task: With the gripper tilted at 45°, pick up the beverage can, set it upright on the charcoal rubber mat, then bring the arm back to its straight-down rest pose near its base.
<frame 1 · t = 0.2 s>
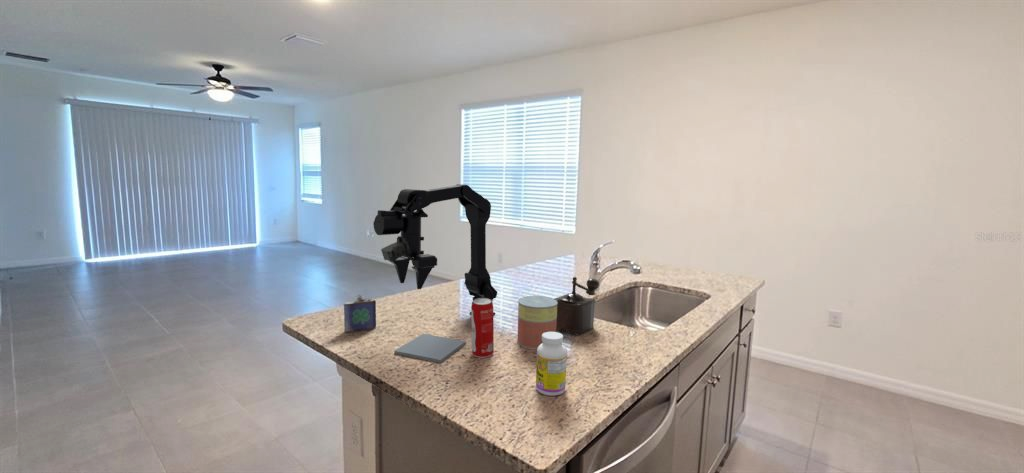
hand: (410, 286, 131), 15 cm above the worktop, tool pointing down, fingers open, 9 cm apart
rubber mat: (431, 348, 122), on the worktop
supplement bottle: (550, 390, 100), on the worktop
beverage can: (482, 355, 119), on the worktop
flask: (360, 330, 135), on the worktop
canned food: (536, 342, 129), on the worktop
pepper mill: (578, 330, 139), on the worktop
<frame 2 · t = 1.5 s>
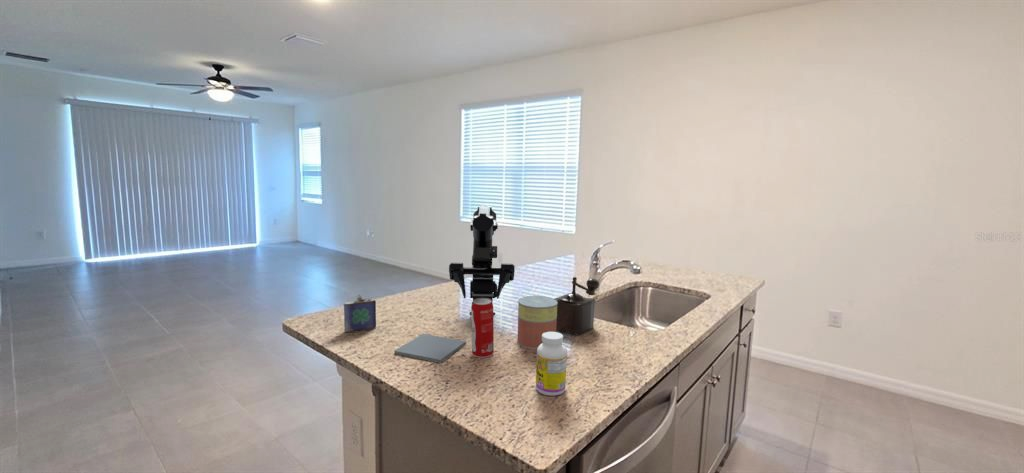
hand: (481, 297, 125), 13 cm above the worktop, tool tilted 45°, fingers open, 9 cm apart
nothing on the worktop moved.
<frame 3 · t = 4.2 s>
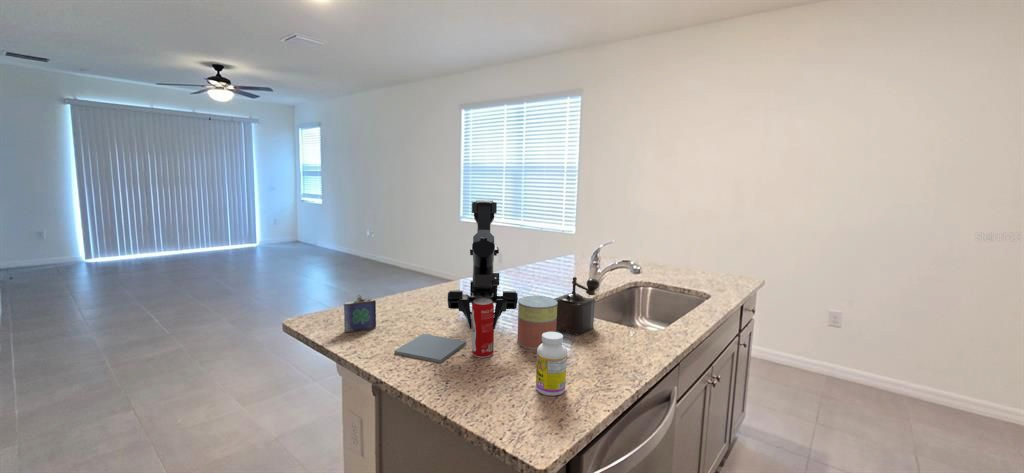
hand: (482, 328, 116), 8 cm above the worktop, tool tilted 45°, fingers closed on beverage can, 6 cm apart
beverage can: (482, 355, 119), on the worktop, touching gripper
everything else where it was.
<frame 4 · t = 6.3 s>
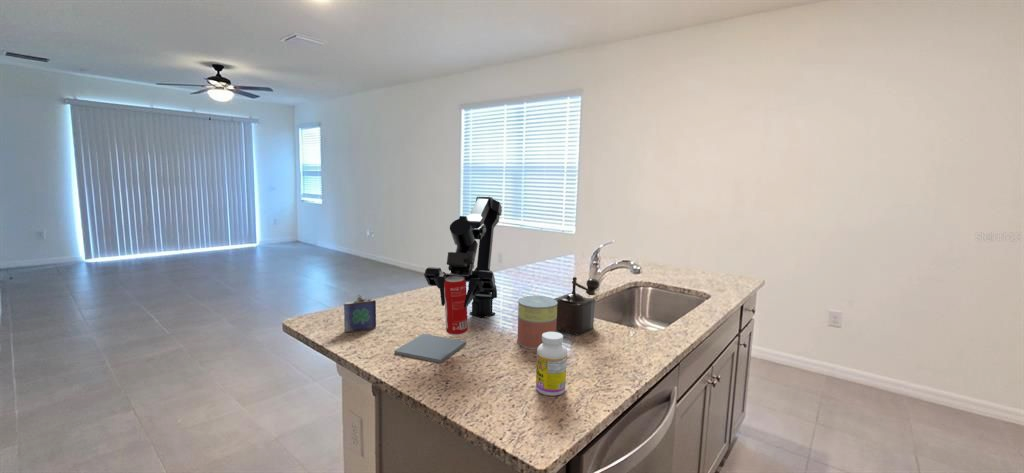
hand: (453, 306, 117), 13 cm above the worktop, tool tilted 45°, fingers closed on beverage can, 6 cm apart
beverage can: (455, 333, 119), point 5 cm above the worktop, touching gripper
everything else where it was.
when the fingers open (9 cm above the worktop, at t = 8.3 s): beverage can stays where it is, resting on rubber mat.
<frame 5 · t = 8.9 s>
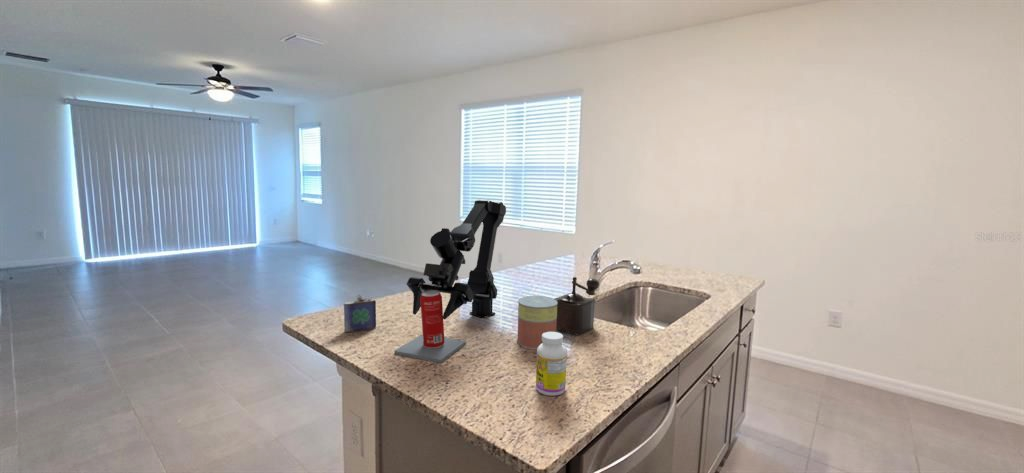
hand: (428, 316, 119), 10 cm above the worktop, tool tilted 45°, fingers open, 9 cm apart
beverage can: (432, 346, 122), point 1 cm above the worktop, touching rubber mat
everything else where it was.
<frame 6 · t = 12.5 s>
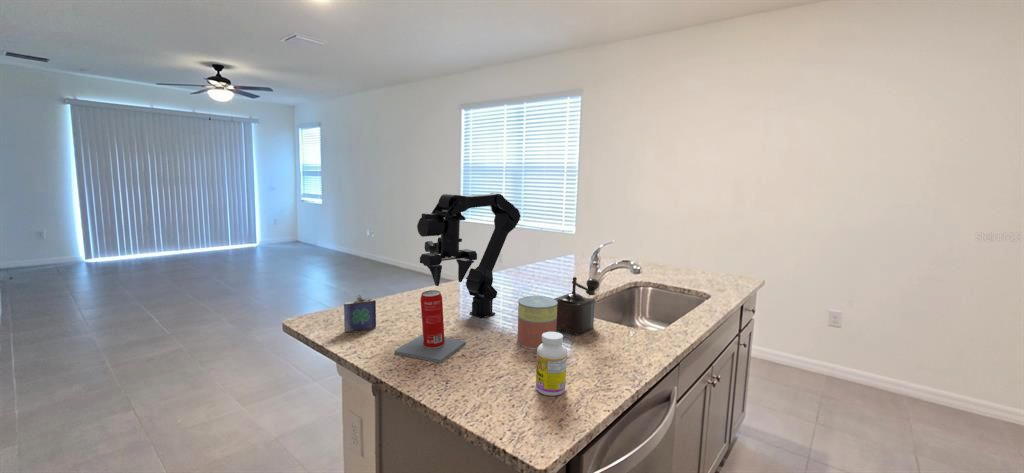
hand: (448, 283, 141), 13 cm above the worktop, tool pointing down, fingers open, 9 cm apart
nothing on the worktop moved.
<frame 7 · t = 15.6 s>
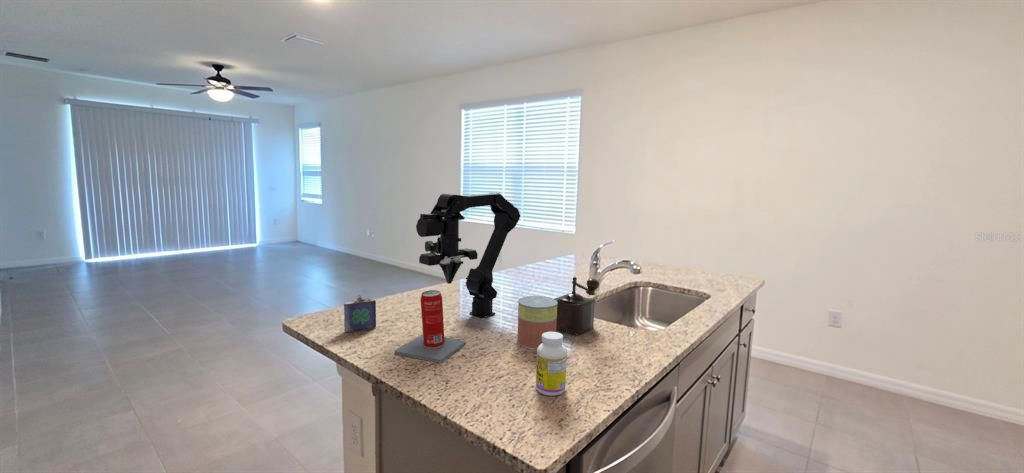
hand: (449, 283, 141), 13 cm above the worktop, tool pointing down, fingers closed
nothing on the worktop moved.
at the end: beverage can inside the target area on the rubber mat (0.4 cm from its centre), point 0.6 cm above the rubber mat's base; beverage can tilted 0°; the gripper is holding nothing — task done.
